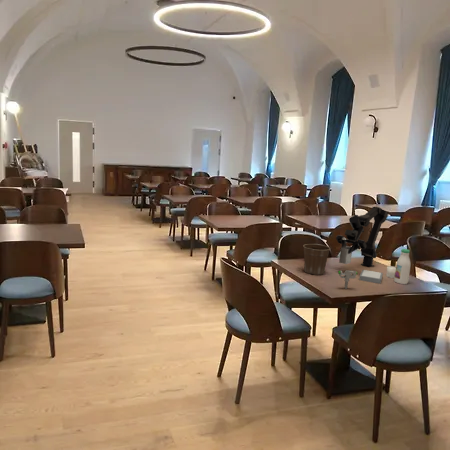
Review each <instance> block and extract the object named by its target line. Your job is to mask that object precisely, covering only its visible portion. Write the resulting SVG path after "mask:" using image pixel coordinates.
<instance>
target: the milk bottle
mask: <svg viewBox="0 0 450 450" xmlns="http://www.w3.org/2000/svg"><path fill="white" fill-rule="evenodd" d="M410 252H411V251H410V249H406V248H401V250H400V256H399V258H397V261H396V266H395V267H396V271H395V278H393V280H394V281H393V282H394V283H397V284H399V285H400V284H402V285H407V284H409V278H410V272H411V259H410Z"/></svg>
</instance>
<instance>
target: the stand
mask: <svg viewBox="0 0 450 450" xmlns="http://www.w3.org/2000/svg"><path fill="white" fill-rule="evenodd" d="M383 274H384V273H383V272H378V271H374V270H373V271H372V270H367V269H362V270H361V271H360V274H359V279H358V280H359V281H363V282H368V283H373V284H374V283H375V284H380V285H381V283H382V279H383Z"/></svg>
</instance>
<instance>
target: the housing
mask: <svg viewBox="0 0 450 450" xmlns="http://www.w3.org/2000/svg"><path fill="white" fill-rule="evenodd" d="M341 247H342V246H341ZM341 247H340V252H339V260H338V261H339V262H338V263H340V264H342V265H347V264H348V265H349V264H351V263H352V253H353V252H351V253H350V254H348V252H349V250H350V248H351V247H352V246H348V245H347V246H343V247H342V248H341Z"/></svg>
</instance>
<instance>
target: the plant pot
mask: <svg viewBox="0 0 450 450" xmlns="http://www.w3.org/2000/svg"><path fill="white" fill-rule="evenodd" d="M302 247H303V254H304V257H303V258H304V262H303V266H304V267H303V268H304V269H303V271H304V272H305V273H306V274H308V275H311V274H312V275H315V276H321V275H324V274H325V271H326V270H325V269H326V267H327V260H328V257H329V254H330V250H331V247H329V246H328V245H324V244H320V245H318V243H307V244H303V245H302Z"/></svg>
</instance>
